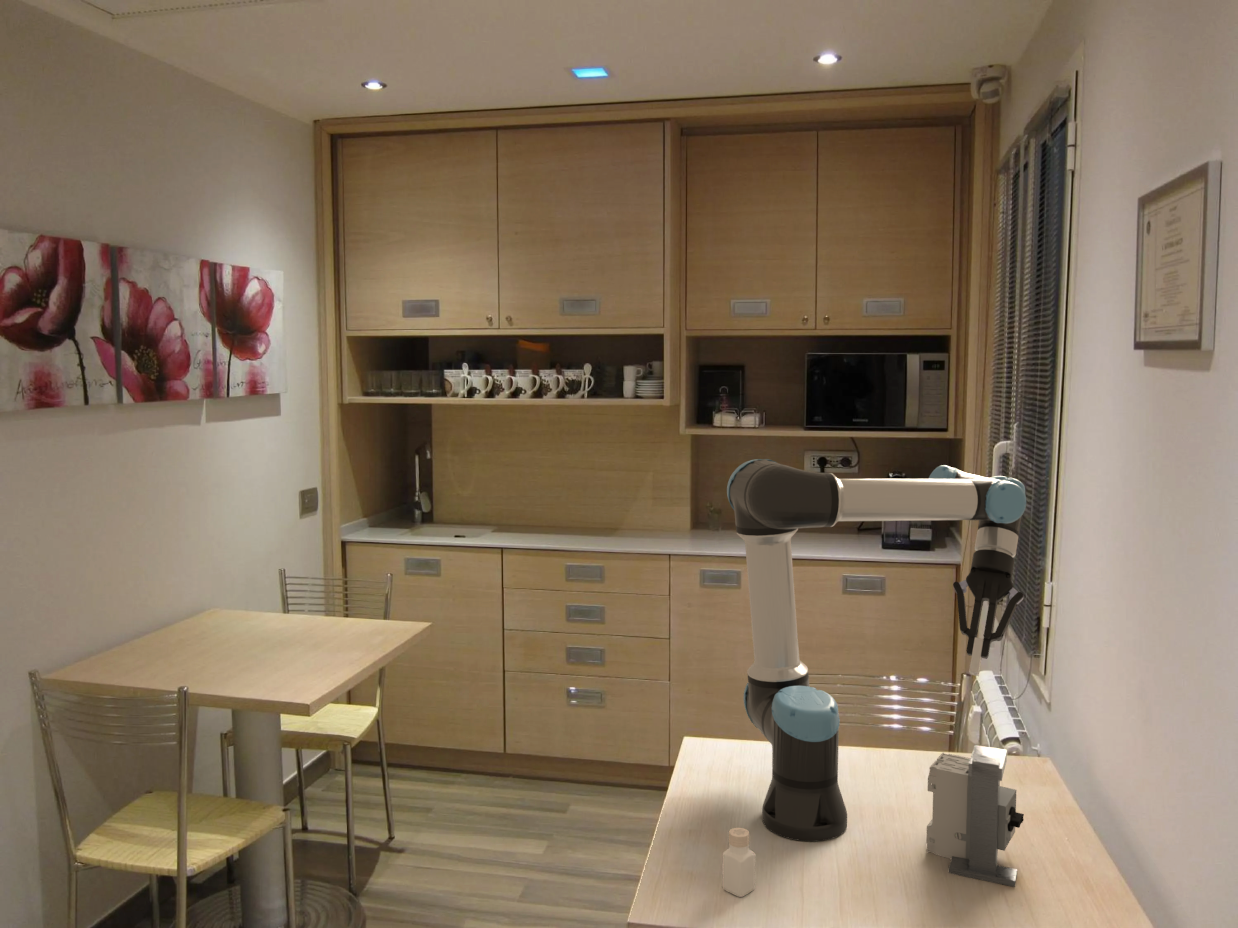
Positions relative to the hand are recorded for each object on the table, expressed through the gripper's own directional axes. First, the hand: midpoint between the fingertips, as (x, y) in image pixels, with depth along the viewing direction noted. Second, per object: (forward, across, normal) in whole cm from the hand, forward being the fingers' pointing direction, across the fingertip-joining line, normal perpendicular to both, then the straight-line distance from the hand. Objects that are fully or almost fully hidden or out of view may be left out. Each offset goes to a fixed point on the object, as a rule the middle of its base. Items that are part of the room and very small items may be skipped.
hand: (973, 673), depth 181 cm
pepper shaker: (+48, +26, +29) cm, 61 cm away
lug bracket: (+33, -8, +8) cm, 35 cm away
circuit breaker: (+32, -6, +5) cm, 32 cm away
